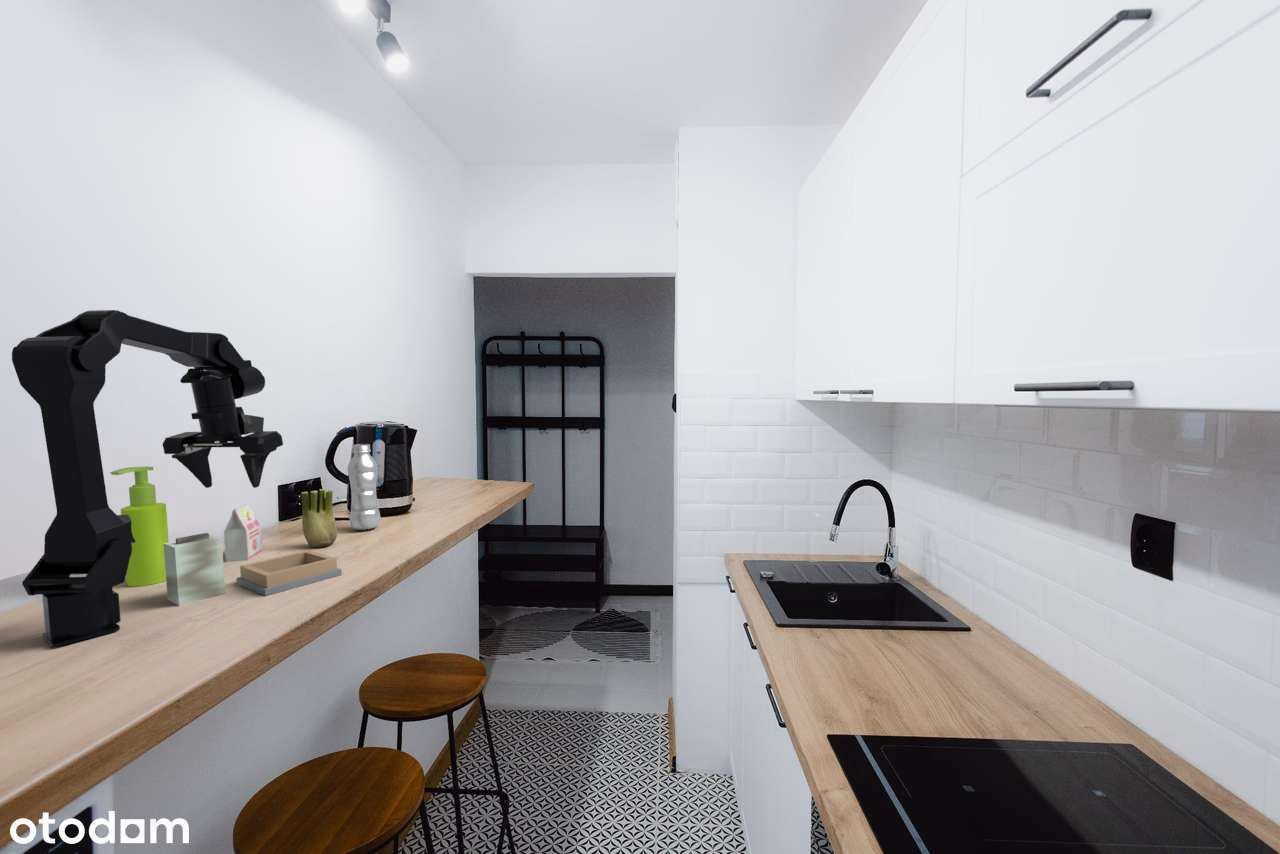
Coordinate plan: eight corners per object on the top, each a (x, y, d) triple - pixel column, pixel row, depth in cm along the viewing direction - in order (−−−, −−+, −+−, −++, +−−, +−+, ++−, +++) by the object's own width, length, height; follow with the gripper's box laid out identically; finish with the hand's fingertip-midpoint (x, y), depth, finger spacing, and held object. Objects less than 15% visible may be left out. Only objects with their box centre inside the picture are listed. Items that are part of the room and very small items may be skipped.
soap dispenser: (110, 587, 95) (101, 469, 94) (156, 574, 102) (147, 464, 101) (135, 590, 94) (125, 470, 92) (179, 576, 100) (171, 464, 99)
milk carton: (226, 562, 109) (222, 510, 108) (241, 552, 116) (238, 504, 115) (247, 560, 110) (244, 509, 109) (261, 551, 116) (258, 502, 116)
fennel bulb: (300, 548, 117) (297, 491, 117) (319, 542, 122) (316, 487, 121) (324, 549, 116) (320, 492, 115) (342, 543, 121) (338, 487, 120)
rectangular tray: (265, 595, 89) (264, 577, 89) (236, 583, 96) (235, 566, 95) (341, 574, 99) (340, 557, 99) (310, 565, 105) (309, 549, 105)
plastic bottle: (343, 532, 130) (338, 446, 129) (362, 525, 137) (358, 443, 136) (369, 533, 129) (364, 446, 128) (387, 526, 136) (382, 443, 135)
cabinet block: (179, 606, 86) (174, 542, 85) (167, 599, 89) (163, 538, 88) (225, 593, 91) (221, 533, 90) (213, 588, 94) (209, 530, 93)
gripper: (295, 395, 108) (308, 473, 112) (202, 396, 110) (218, 473, 113) (253, 407, 98) (269, 492, 101) (151, 408, 99) (170, 493, 103)
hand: (232, 487), depth 105 cm, fingers open, 9 cm apart
